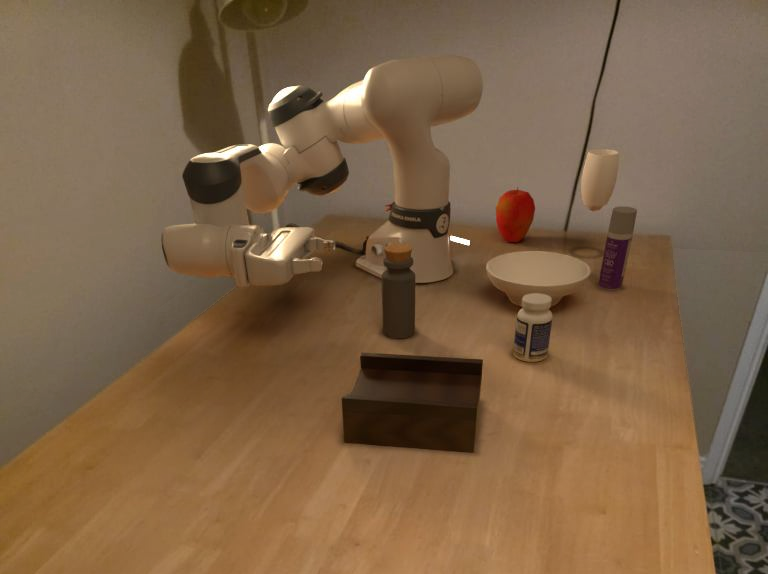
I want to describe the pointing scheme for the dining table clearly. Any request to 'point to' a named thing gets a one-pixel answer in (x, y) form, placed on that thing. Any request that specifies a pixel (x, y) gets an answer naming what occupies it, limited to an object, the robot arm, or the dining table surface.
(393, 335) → the bottle
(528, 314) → the pill bottle
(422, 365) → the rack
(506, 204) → the apple
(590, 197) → the cup
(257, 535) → the dining table surface
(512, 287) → the bowl
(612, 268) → the container
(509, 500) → the dining table surface
